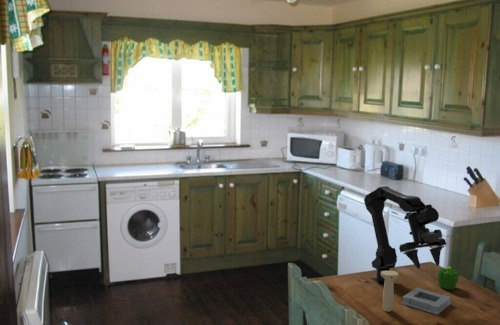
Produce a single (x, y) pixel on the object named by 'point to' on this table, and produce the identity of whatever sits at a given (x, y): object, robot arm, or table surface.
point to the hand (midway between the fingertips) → (428, 267)
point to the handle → (388, 289)
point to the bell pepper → (448, 278)
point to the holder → (426, 300)
